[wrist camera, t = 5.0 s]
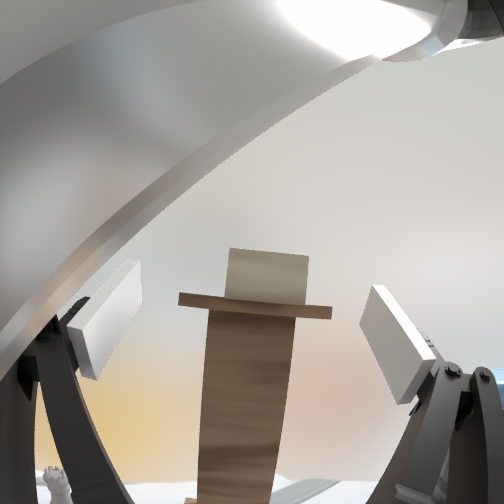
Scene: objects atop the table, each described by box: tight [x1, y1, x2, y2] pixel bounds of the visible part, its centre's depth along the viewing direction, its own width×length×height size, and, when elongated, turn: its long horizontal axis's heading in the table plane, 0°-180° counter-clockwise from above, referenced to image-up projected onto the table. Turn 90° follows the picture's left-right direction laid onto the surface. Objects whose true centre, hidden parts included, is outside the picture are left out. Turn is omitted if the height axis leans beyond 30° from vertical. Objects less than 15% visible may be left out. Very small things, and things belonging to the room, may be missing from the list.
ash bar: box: [224, 248, 309, 306], centre depth 24 cm, size 20×4×2 cm, turn 2°
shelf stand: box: [178, 292, 332, 504], centre depth 25 cm, size 10×12×30 cm
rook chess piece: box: [43, 466, 73, 504], centre depth 17 cm, size 4×4×8 cm
